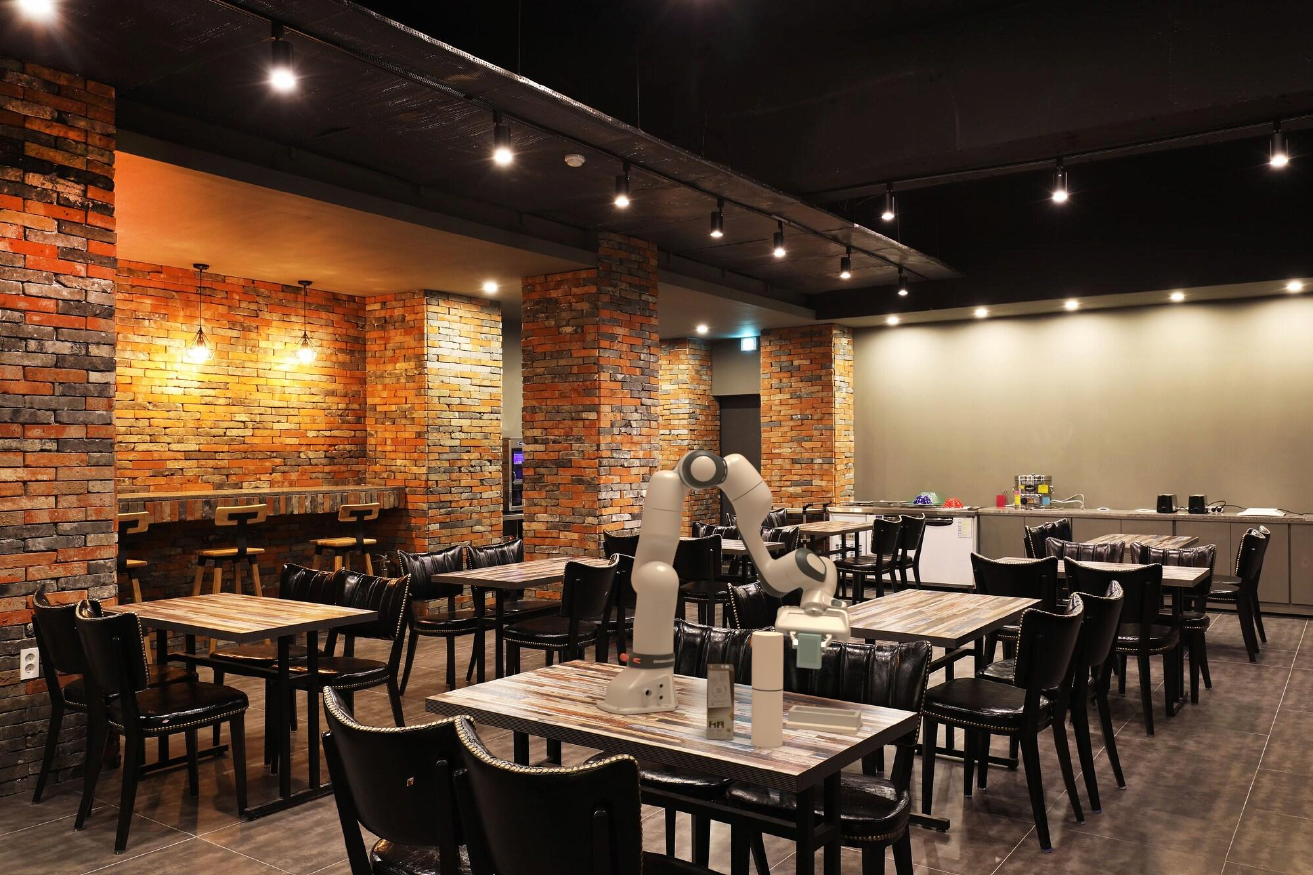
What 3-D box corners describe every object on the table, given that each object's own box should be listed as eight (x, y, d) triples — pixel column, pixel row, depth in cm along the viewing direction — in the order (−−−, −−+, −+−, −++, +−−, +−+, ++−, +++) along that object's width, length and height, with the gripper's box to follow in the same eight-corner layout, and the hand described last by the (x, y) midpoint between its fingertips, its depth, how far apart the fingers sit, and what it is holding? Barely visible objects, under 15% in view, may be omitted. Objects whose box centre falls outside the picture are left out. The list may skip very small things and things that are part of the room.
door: (819, 669, 248) (820, 636, 249) (796, 666, 250) (797, 634, 251) (821, 667, 251) (822, 634, 252) (798, 665, 253) (799, 633, 254)
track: (855, 734, 227) (855, 719, 227) (785, 727, 233) (785, 713, 233) (862, 722, 239) (862, 708, 240) (795, 716, 245) (795, 703, 245)
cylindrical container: (747, 745, 215) (748, 634, 216) (755, 738, 221) (756, 630, 223) (778, 749, 212) (779, 636, 214) (785, 741, 219) (786, 632, 220)
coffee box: (734, 740, 219) (735, 670, 220) (706, 739, 220) (707, 669, 221) (732, 730, 228) (733, 663, 230) (705, 730, 229) (706, 663, 230)
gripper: (777, 597, 262) (769, 637, 252) (852, 603, 255) (846, 644, 245) (780, 612, 266) (772, 652, 256) (854, 618, 259) (848, 659, 249)
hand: (809, 648), depth 250 cm, fingers closed on door, 6 cm apart
